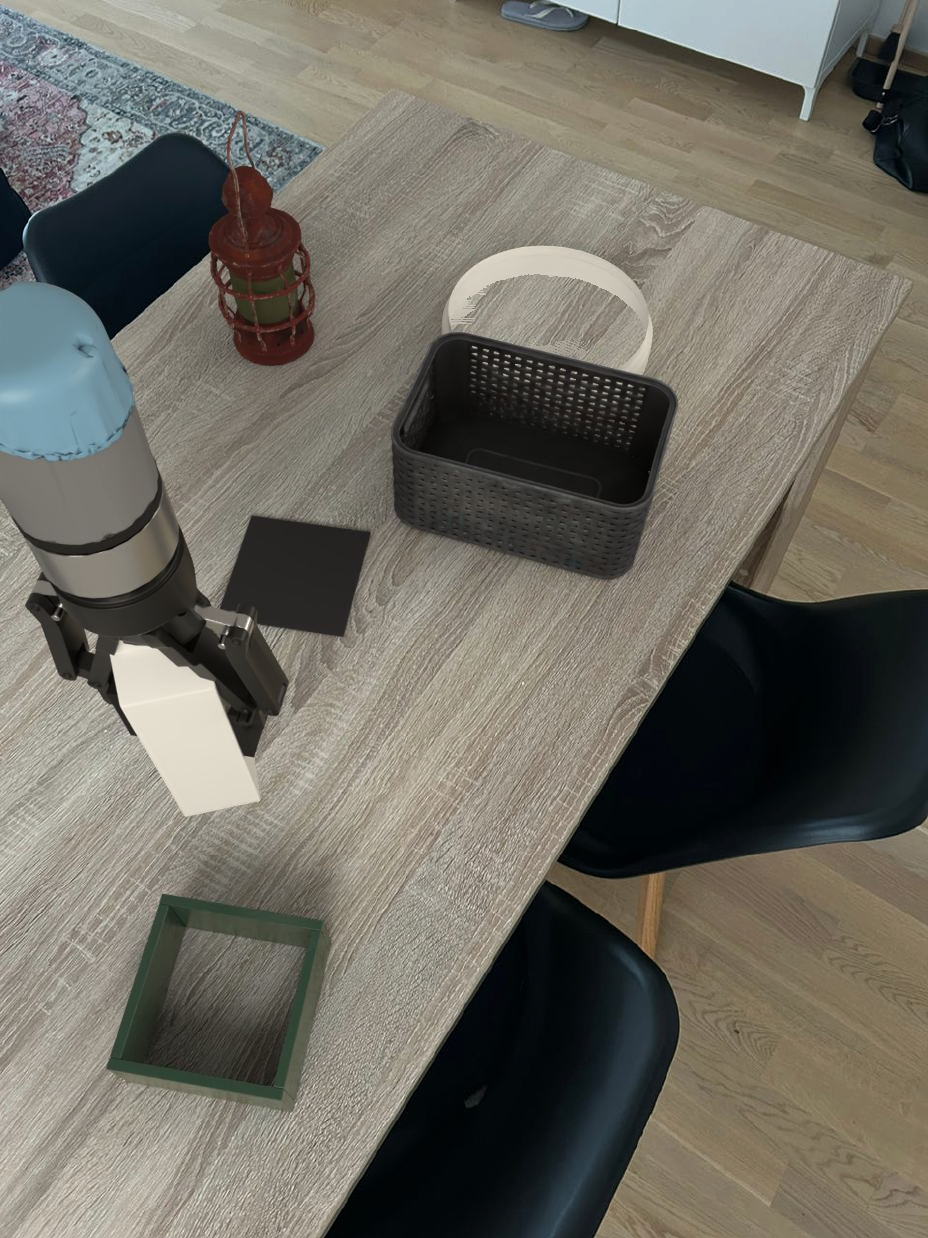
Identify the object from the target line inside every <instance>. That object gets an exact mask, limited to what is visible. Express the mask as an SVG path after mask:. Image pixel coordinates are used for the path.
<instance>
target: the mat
mask: <svg viewBox="0 0 928 1238" xmlns="http://www.w3.org/2000/svg"><path fill="white" fill-rule="evenodd" d="M370 538H371V531H368V530H367V531H366V530H360V529H352V528H345V527H339V526H331V525H325V524H317V523H309V522H304V521H303V522H302V521H296V520H288V519H281V518H273V517H267V516H259V515H254V514H253V515H251V516H250V519H249V521H248V525H247V528H246V530H245V533H244V536H243V538H242V541H241V544H240V548H239V551H238V553H237V557H236V559H235V562H234V565H233V568H232V571H231V574H230V577H229V580H228V583H227V585H226V588H225V591H224V594H223V597H222V600H221V602H220V606H219V609H222V610H226V611H229V612H231V611H235V612H236V609H237V607H238V604H240V603H247V604H250V605H252V606H254V607H255V608H256V609H257V625H261V626H266V627H267V626H268V627H275V628H281V629H287V630H295V631H301V632H307V633H314V634H322V635H329V636H333V637H342V638H343V637H344V636H345V633H346V629H347V625H348V620H349V617H350V615H351V614H350V613H351V609H352V605H353V602H354V598H355V594H356V591H357V587H358V583H359V579H360V576H361V575H360V574H361V572H362V568H363V565H364V560H365V556H366V553H367V549H368V546H369V545H368V544H369V542H370Z"/></svg>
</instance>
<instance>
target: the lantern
mask: <svg viewBox="0 0 928 1238" xmlns="http://www.w3.org/2000/svg"><path fill="white" fill-rule="evenodd" d="M240 117H241V123H242V134H243V135H242V136H243V147H244V151H245V154H246V157H247V159H248V161H249V165H239V166H236V167H234V164H233V162H232V157H231V143H232V142H231V141H232V139H233V137H234V133H235V131H236V128H237V125H238V123H239V120H240ZM247 132H248V131H247V119H246V115H245V112H244V111H243V110H237V113H236V115H235V118H234V121H233V123H232V126H231V128H230V131H229V133H228V136H227V143H226V159H227V163H228V166H229V168H230V171H229V172H228V173H227V175H226V180H225V181H224V183H223V184H222V188H221V189H222V191H221V201H222V203H223V205H224V206H225V207H226V209H227V211H228V213H226V214H224V216H222V217H220V218H219V219H218V220H217V221H216V222H215V223H214V224H213V225H212V227H211V229H210V231H209V232H208V233H209V234H208V246H209V248H210V261H209V264H210V265H209V266H210V267H209V268H210V270H209V271H210V275H211V278H212V280H213V281H214V284H215V285H216V286H217V287H218V294H217V297H218V299H217V301H218V302H217V303H218V304H217V305H218V309H219V311H220V313H221V315H222V317H223V319H225V321H226V324H227V326H228V327H229V329H230V330H232V331H234V332H233V335H232V340H233V343H234V346H235V350H236V351H237V352H238V354H239V355H240V356H241V357H242V358H243V359H245V360H247V361H249V362H251V363H253V364H256V365H260V366H269V367H270V366H273V367H274V366H283V365H286V364H289V363H292V362H295V361H296V360H299V358H302V357H303V356H304V355H305V354H306V353H307V352H308V351H309V350H310V348H311V347H312V345H313V344H314V339H315V329H314V325H313V324H312V321H311V319H310V318H311V317H312V316H313V315H314V314H315V309H316V308H315V307H316V305H315V303H316V302H315V301H316V292H315V288H314V285H313V283H312V280H311V265H312V264H311V257H310V254H309V251H308V250H307V248H306V247H305V245H304V243H303V242H302V239H303V237H302V229H301V226H300V223H299V222H298V221H297V220H296V219H295V217H293V215H291V214H289V213H288V212H286V211H284V210H281V209H278V208H275V207H272V201H273V199H274V190H273V187H272V186H271V185H270V184H269V182H268V180H267V178H266V177H265V176H263V175H262V173H261V172H260V171H259V170H258V169H257V168H256V166H255V162H254V161H253V159H252V156H251V154H250V150H249V145H248V134H247ZM295 255H297V256H299V260H300V267H301V272H300V271H299V270H298V269H295V267H294V257H295ZM218 261H220V262H221V264H222V265H221V266H220V267H219V269H218ZM225 268H226V269H227V270H228V273H229V278H228V280H227V281H226V282H225V283H224V282H223V280H222V279H223V278H222V274H223V272H224V270H225ZM297 277H298V278H297ZM301 284H302V287H303V291H302V293H301V295H300V298H299V293H298V292H299V288H298V287H299V286H300V285H301ZM230 286H231V288H229V287H230ZM307 290H308V297H309V300H308V304H307V306H306V307H305V305H304V303H303V301H304V298H305V296H306V293H307ZM226 294H228V295H230V296H233V299H234V302H235V304H236V310H235V311H234V310H233V309H232V308H231V307H230V306H229V305H228V304H227V300H226ZM230 313H231V314H232V316H231V315H230Z"/></svg>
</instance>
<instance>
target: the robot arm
mask: <svg viewBox="0 0 928 1238" xmlns="http://www.w3.org/2000/svg"><path fill="white" fill-rule="evenodd" d="M133 392H134V386H133V384H132V381H131V378H130V375H129V373H128V370H127V368H126V366H125V365H124V363H123V362H122V360H121V359H120V358H119V357H118V355H117V353H116V351H115V348H114V346H113V343H112V342H111V339H110V337H109V335H108V332H107V330H106V328H105V326H104V324H103V322H102V320H101V319H100V317H99V316H98V314H97V312H96V311H95V310H94V309H93V308H92V307H91V306H90V304H88V303H87V302H86V301H85V300H84V299H83V298H81V297H80V296H78V295H76V294H75V293H73V292H71V291H69V290H67V289H65V288H63V287H60V286H57V285H54V284H50V283H46V282H39V281H31V280H30V281H22V280H21V281H19V280H18V281H14V282H12V284H11V285H9V286H8V287H6V288H4V289H0V501H1V503H2V504H3V506H4V508H5V509H6V510H7V512H8V513H9V516H10V517H11V520H12V521H13V522H14V524H15V526H16V528H17V529H18V531H19V532H20V534H21V535H22V536H23V538H24V540H25V542H26V544H27V545H28V547H29V549H30V551H31V553H32V555H33V557H34V558H35V560H36V562H37V564H38V565H39V567H40V569H41V571H40V573H39V575H38V578H37V580H36V582H35V584H34V586H33V588H32V590H31V592H30V594H29V596H28V598H27V600H26V602H25V604H24V606H25V608H26V610H27V611H28V612H29V613H30V614H31V615H32V616H33V617H34V619H35V620H37V622H39V625H40V626H41V629H42V631H43V634H44V638H45V640H46V644H47V646H48V649H49V651H50V654H51V657H52V660H53V663H54V666H55V668H56V672H57V674H58V676H59V677H61V678H62V679H63V680H65V681H70V682H74V681H77V679H78V677H79V678H81V679H85V680H87V681H86V683H87V685H88V686H89V687H90V688H92V689H95V690H97V692H98V693H99V695H100V696H101V698H102V700H103V701H104V702H105V703H106V704H108V705H112V706H113V708H114V710H115V711H116V713H117V715H118V717H119V718H120V720H121V721H122V723H123V725H124V727H125V728H126V731H128V734H129V735H130V736H134V737H138V736H137V734H136V733H135V731H134V729H133V728H132V726H131V724H130V722H129V721H128V719H127V717H126V716H125V714H124V712H123V711H122V709H121V707H120V704H119V699H118V694H117V689H116V684H115V679H114V673H113V668H112V663H111V658H110V655H113V656H114V655H115V654H116V651H117V648H118V645H119V641H120V640H121V641H123V643H124V644H129V645H135V646H149V647H151V648H155V649H158V650H159V651H160V652H162V653H163V654H164V655H165V656H166V657H167V658H168V659H169V660H171V661H172V662H173V663H174V664H175V665H176V666H178V667H189V668H190V669H191V670H192V671H193V672H194V673H195V674H197V675H198V676H199V677H200V678H203V679H207V680H210V681H214V682H215V685H216V687H217V690H218V692H219V695H220V696H221V697H222V698H223V699H224V700H225V701H226V702H228V703H229V704H230V705H231V707H230V709H229V712H228V717H229V720H230V722H231V725H232V727H233V730H234V732H235V735H236V737H237V740H238V742H239V745H240V747H241V750H242V752H243V755H244V756H248V757H253V758H255V756H256V753H257V750H258V746H259V743H260V740H261V738H262V734H263V731H264V730H265V727H266V724H267V721H268V717H269V716H271V717H278V716H279V715H280V713H281V709H282V707H283V703H284V701H285V697H286V695H287V691H288V688H289V684H290V680H289V678H288V677H287V675H286V673H285V672H284V670H283V668H282V666H281V664H280V663H279V661H278V660H277V658H276V655H275V654H274V652H273V651H272V649H271V647H270V645H269V644H268V642H267V641H266V638H265V637H264V635H263V633H262V632H261V630H260V628H259V626H258V624H257V609H256V608H255V607H254V606H252V605H250V604H247V603H240V604H238V607H237V609H236V612H235V611H231V612H229V611H226V610H222V609H220V608H217V607H215V606H212V603H211V601H210V599H209V598H208V597H207V596H206V595H205V594H203V592H201V591H200V590H199V587H198V585H197V575H196V570H195V569H196V568H195V564H194V561H193V557H192V554H191V551H190V549H189V546H188V544H187V541H186V539H185V536H184V533H183V530H182V528H181V525H180V524H179V522H178V519H177V515H176V513H175V509H174V507H173V504H172V501H171V498H170V496H169V493H168V490H167V487H166V485H165V482H164V479H163V477H162V475H161V472H160V470H159V467H158V465H157V460H156V458H155V456H154V455H153V452H152V449H151V446H150V443H149V440H148V437H147V435H146V432H145V429H144V427H143V422H142V420H141V417H140V414H139V410H138V407H137V405H136V400H135V397H134V395H133ZM86 631H88V632H90V633H92V634H95V635H97V640H96V643H95V648H94V649H95V651H94V652H91V651H90V649H91V647H90V644H89V641H88V637H87V633H86Z"/></svg>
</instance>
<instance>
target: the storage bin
mask: <svg viewBox="0 0 928 1238" xmlns="http://www.w3.org/2000/svg"><path fill="white" fill-rule="evenodd" d="M472 346H474V347H477V348H472ZM483 349H486V350H489V351H488V352H487V351H485V350H483ZM494 352H497V353H499V354H495V353H494ZM472 353H476V354H477V355H474V354H472ZM483 355H484V356H487V357H488V358H486V357H483ZM505 355H510V357H508V356H505ZM516 357H518V358H520V359H516ZM494 359H499V361H497V360H494ZM472 360H476V361H472ZM505 361H507V362H509V363H505ZM528 361H532V363H530V362H528ZM483 362H486V363H488V364H484V363H483ZM538 363H541V364H543V365H538ZM515 364H519V365H521V367H519V366H517V365H515ZM493 365H496V366H498V367H494V366H493ZM472 366H476V368H474V367H472ZM549 366H554V367H555V368H551V367H549ZM526 367H529V368H532V369H527V368H526ZM482 368H483V369H485V370H482ZM504 368H508V369H509V370H506V369H504ZM561 368H562V369H564V370H566V371H563V370H560V369H561ZM515 370H516V371H518V372H520V373H517V372H515ZM537 370H542V371H543V372H539V371H537ZM471 372H473V373H475V374H472V373H471ZM494 372H498V374H496V373H494ZM572 372H577V374H575V373H572ZM548 373H553V375H552V374H548ZM503 374H506V375H508V376H504V375H503ZM526 374H531V376H529V375H526ZM583 374H586V375H588V376H583ZM482 375H486V376H487V377H485V376H482ZM537 376H538V377H541V378H537ZM560 376H565V377H564V378H563V377H560ZM492 377H493V378H495V379H492ZM514 377H516V378H519V380H518V379H516V378H514ZM594 377H599V378H600V379H596V378H594ZM570 378H573V379H576V380H571V379H570ZM472 379H476V381H475V380H472ZM496 379H497V380H496ZM548 379H549V380H553V381H552V382H551V381H549V380H548ZM606 379H607V380H610V381H605V380H606ZM525 380H528V381H530V382H526V381H525ZM481 381H483V382H485V383H482V382H481ZM503 381H508V383H506V382H503ZM582 381H587V383H584V382H582ZM558 382H562V383H564V384H560V383H558ZM617 382H619V383H622V385H621V384H618V383H617ZM513 383H515V384H517V385H513ZM536 383H540V384H541V385H538V384H536ZM593 383H595V384H598V385H593ZM492 384H495V385H497V386H494V385H492ZM471 385H474V386H471ZM570 385H575V387H572V386H570ZM628 385H631V386H633V387H629V386H628ZM546 386H551V387H552V388H550V387H546ZM604 386H608V387H610V388H606V387H604ZM502 387H505V388H507V389H505V388H502ZM525 387H529V389H528V388H525ZM580 387H583V388H585V389H581V388H580ZM483 388H485V389H486V390H485V389H483ZM616 388H617V389H619V390H621V391H619V390H615V389H616ZM535 389H537V390H539V391H535ZM558 389H563V391H561V390H558ZM491 390H493V391H495V392H493V391H491ZM513 390H517V391H518V392H516V391H513ZM592 390H596V391H597V392H594V391H592ZM472 391H474V392H475V393H474V392H472ZM568 391H571V392H573V393H569V392H568ZM524 392H525V393H527V394H523V393H524ZM546 392H550V393H551V394H548V393H546ZM603 392H605V393H608V394H603ZM628 392H629V393H628ZM481 393H482V394H485V395H481ZM502 393H503V394H502ZM504 394H507V395H504ZM580 394H584V395H585V396H582V395H580ZM535 395H536V396H539V398H538V397H535ZM557 395H560V396H562V397H560V396H557ZM614 395H618V396H620V397H616V396H614ZM491 396H492V397H491ZM512 396H514V397H512ZM591 396H593V397H595V398H591ZM493 397H496V398H493ZM545 398H547V399H550V400H545ZM568 398H573V400H571V399H568ZM501 399H503V400H501ZM524 399H527V400H528V401H526V400H524ZM602 399H606V400H607V401H604V400H602ZM504 400H505V401H504ZM578 400H581V401H584V402H579V401H578ZM533 401H535V402H537V403H534V402H533ZM556 401H561V403H558V402H556ZM613 401H615V402H616V403H613ZM512 402H515V403H517V404H515V403H512ZM566 403H568V404H570V405H566ZM590 403H595V405H593V404H590ZM544 404H546V405H549V406H546V405H544ZM522 405H525V406H522ZM600 405H603V406H606V407H601V406H600ZM511 407H512V408H514V409H511ZM555 407H558V408H560V409H558V408H555ZM579 407H583V408H579ZM534 408H538V410H537V409H534ZM588 409H592V410H588ZM678 409H679V398H678V395H677V394H676V392H675V390H674V389H673V388H672V387H671V386H670V385H669V384H667V383H666V382H664V381H663V380H660V379H657V378H654V377H651V376H646V375H644V374H643V375H639V374H635V373H630V372H626V371H622V370H618V369H614V368H610V367H606V366H602V365H598V364H594V363H590V362H586V361H581V360H577V359H573V358H569V357H565V356H561V355H557V354H553V353H549V352H545V351H541V350H536V349H532V348H528V347H524V346H520V345H516V344H512V343H508V342H504V341H499V340H495V339H491V338H487V337H483V336H479V335H475V334H471V333H466V332H451V333H447V334H444V335H442V334H441V335H440V336H438V337H436V338H435V339H434V340H433V341H432V342H431V343H430V344H429V347H428V349H427V351H426V353H425V356H424V358H423V360H422V363H421V365H420V367H419V369H418V371H417V373H416V376H415V378H414V379H413V382H412V383H411V385H410V388H409V389H408V392H407V394H406V396H405V398H404V400H403V402H402V404H401V406H400V408H399V410H398V412H397V414H396V415H395V418H394V420H393V422H392V425H391V427H390V439H391V452H392V457H391V463H392V477H393V481H392V486H393V499H394V500H393V508H394V509H393V510H394V512H395V514H396V517H397V518H398V520H399V521H401V522H402V524H403V525H406V526H407V527H409V528H412V529H415V530H418V531H421V532H426V533H429V534H433V535H436V536H440V537H444V538H448V539H451V540H455V541H458V542H462V543H465V544H469V545H472V546H476V547H480V548H483V549H487V550H491V551H494V552H497V553H501V554H506V555H509V556H513V557H517V558H520V559H524V560H527V561H532V562H535V563H539V564H542V565H546V566H549V567H553V568H556V569H560V570H563V571H568V572H571V573H575V574H579V575H583V576H586V577H591V578H594V579H598V580H603V581H605V580H606V581H607V580H616V579H619V578H621V577H623V576H625V575H626V574H628V572H630V570H631V569H632V567H633V566H634V564H635V560H636V558H637V554H638V551H639V546H640V544H641V543H640V542H641V540H642V536H643V532H644V528H645V526H646V522H647V519H648V515H649V512H650V507H651V505H652V504H651V503H652V502H653V499H654V494H655V491H656V487H657V484H658V479H659V475H660V471H661V469H662V465H663V462H664V458H665V454H666V452H667V449H668V445H669V441H670V439H671V434H672V431H673V427H674V424H675V419H676V415H677V412H678ZM543 410H546V411H548V412H546V411H543ZM566 410H571V412H569V411H566ZM502 411H503V412H502ZM524 411H526V412H524ZM576 412H579V413H581V414H577V413H576ZM532 413H533V414H532ZM555 413H558V414H559V415H557V414H555ZM513 414H516V415H513ZM565 415H566V416H568V417H565ZM521 416H522V417H521ZM544 416H545V417H544ZM546 417H547V418H546ZM554 419H556V420H554Z"/></svg>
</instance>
